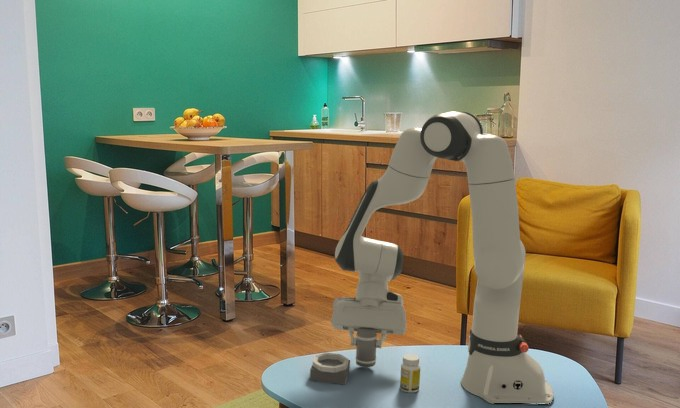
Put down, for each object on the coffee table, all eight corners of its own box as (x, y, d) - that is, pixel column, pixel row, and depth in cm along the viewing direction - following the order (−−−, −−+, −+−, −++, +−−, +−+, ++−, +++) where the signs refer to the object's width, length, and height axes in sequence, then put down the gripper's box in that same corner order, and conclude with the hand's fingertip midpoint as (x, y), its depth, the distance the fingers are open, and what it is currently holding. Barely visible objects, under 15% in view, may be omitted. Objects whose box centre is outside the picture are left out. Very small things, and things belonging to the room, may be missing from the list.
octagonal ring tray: (349, 370, 166) (350, 355, 165) (344, 385, 157) (345, 369, 157) (316, 366, 167) (316, 351, 167) (309, 381, 159) (310, 365, 158)
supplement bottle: (418, 385, 159) (420, 353, 158) (419, 393, 154) (421, 361, 153) (399, 383, 159) (401, 352, 158) (399, 392, 155) (401, 360, 153)
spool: (376, 359, 169) (378, 327, 168) (374, 368, 164) (376, 335, 163) (356, 357, 170) (358, 326, 169) (354, 366, 165) (355, 333, 163)
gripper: (333, 291, 172) (325, 338, 165) (407, 296, 169) (404, 344, 162) (335, 301, 178) (328, 347, 170) (408, 307, 175) (404, 354, 167)
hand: (366, 346), depth 166 cm, fingers closed on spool, 5 cm apart
